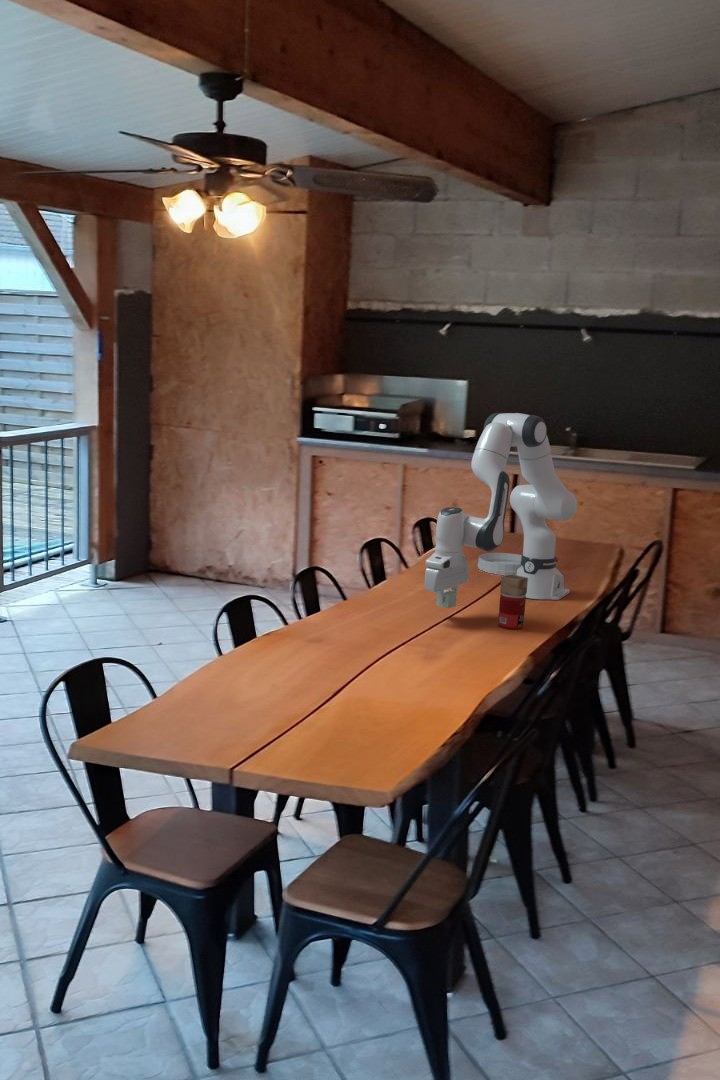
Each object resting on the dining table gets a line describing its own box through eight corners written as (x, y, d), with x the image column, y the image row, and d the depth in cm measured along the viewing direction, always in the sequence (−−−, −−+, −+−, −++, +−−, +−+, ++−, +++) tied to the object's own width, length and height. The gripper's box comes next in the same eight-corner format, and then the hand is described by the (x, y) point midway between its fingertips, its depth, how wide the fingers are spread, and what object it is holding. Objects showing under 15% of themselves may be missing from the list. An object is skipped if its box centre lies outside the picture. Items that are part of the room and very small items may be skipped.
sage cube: (444, 603, 344) (444, 589, 344) (455, 605, 342) (456, 592, 341) (436, 605, 341) (437, 592, 340) (447, 608, 338) (448, 594, 337)
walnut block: (510, 589, 338) (511, 574, 337) (526, 593, 334) (528, 577, 333) (500, 592, 333) (501, 577, 332) (516, 596, 330) (518, 580, 329)
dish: (475, 574, 410) (476, 561, 409) (478, 562, 431) (479, 550, 430) (533, 579, 406) (534, 566, 405) (534, 567, 428) (535, 555, 427)
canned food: (522, 631, 331) (525, 596, 329) (496, 628, 333) (499, 594, 331) (523, 624, 339) (526, 591, 337) (498, 622, 340) (501, 588, 338)
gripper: (458, 552, 348) (456, 593, 351) (422, 561, 332) (420, 604, 335) (474, 555, 344) (472, 596, 347) (438, 565, 329) (436, 608, 331)
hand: (446, 600), depth 341 cm, fingers closed on sage cube, 4 cm apart
